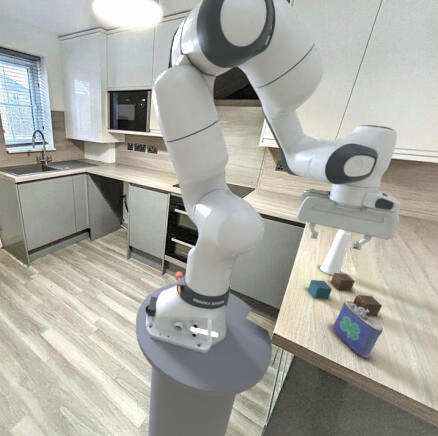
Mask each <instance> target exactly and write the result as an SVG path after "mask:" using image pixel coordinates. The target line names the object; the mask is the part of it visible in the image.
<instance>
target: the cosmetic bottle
mask: <svg viewBox="0 0 438 436" xmlns="http://www.w3.org/2000/svg"><path fill="white" fill-rule="evenodd" d="M351 236H352V232H349V231H345V230H340V229H338V231H337V233H336V235H335V238H334V240H333V242H332V244H331V246H330V248H329V251H328V254H327V255H326V257H325V259H324V261H323V263H322V264H321V266H320V270H321V271H322V272H323V273H325V274H327V275H330V276H333V275H334V273H342V271H341V270H342V265H343V261H344V259H345V255H346V252H347V249H348V246H349V244H350V240H351Z"/></svg>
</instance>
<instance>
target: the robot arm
mask: <svg viewBox="0 0 438 436" xmlns="http://www.w3.org/2000/svg"><path fill="white" fill-rule="evenodd" d="M168 58H169V60H168V66H167V69H166V70H164V71H163V72H162V73H161V74H160V75H159V76H158V78H156V80H155V82H154V83H153V87H152V92H151V93H152V101H153V106H154V112H155V115H156V120H157V123H158V127H159V131H160V134H161V136H162V139H163V142H164V145H165V147H166V151H167V153H168V155H169V158H170V160H171V161H170V162H171V164H172V167H173V169H174V171H175V174H176V178H177V181H178V186H179V190H180V195H181V199H182V203H183V206H184V209H185V212H186V215H187V217H188V218H189V220H190V221H192V223H193V224H194V225H195V226H196V229H197V233H198V238H197V241H196V244H195V246H193V247H192V248H191V249H190V250H189V251H188V253H187V261H186V268H185V269H186V270H185V274H183V272H182V271H176V272H175V280H176V283H177V286H174V287H172V288H169V289H167V290H164V291H162V292H161V293H160V295H159V297H151V298H150V302H149V304H148V305H147V306H146V308H145V310H146V313H147V316H146V329H147V332H148V334H149V336H150V337H152V338H155V339H158V340H161V341H164V342H168V343H171V344H175V345H178V346H181V347H185V348H188V349H191V350H195V351H198V352H201V353H207V352H208V351H209V350H210V349H211V347H212V346H213V345H215V344H217V343H219V342H220V341H222V340H223V339H224V337H225V336H226V333H227V326H226V318H225V312H226V306H227V303H228V301H229V296H230V293H231V286H230V283H231V278H232V273H233V270H234V266H235V263H236V262H237V261H236V260H237V259H238V258H239V256H240V255H244V254H247V253H249V252H251V251H252V250H253V249H255V248H256V247H257V246H258V245H259V243H260V242H261V240H262V239H263V236H264V234H265V229H266V227H265V221H264V219H263V217H262V216H261V214H260V213H259V212H258V211H257V210H256V208H255V207H254V206H253V205H252V204H251V203H250V202H249V201H248V200H245V199H244V198H242V197H240V196H238V195H237V194H235V193H233V192H232V191H231V190H230V188H229V186H228V183H227V180H226V179H227V177H226V167H227V165H228V162H229V159H230V158H229V157H230V155H229V152H228V147H227V144H226V140H225V136H224V132H223V128H222V125H221V121H220V117H219V114H218V110H217V107H216V104H215V102H214V100H215V99H214V86H215V80H216V78H217V77H218V76H220V75H222V74H224V73H226V72H228V71H230V70H231V69H233V68H237V67H238V68H239V69H240V70H241V71H242V72H243V73H244V74H245V75H246V78H247V79H248V81H249V83H250V85H251V86H252V88H253V90H254V92H255V93H256V95H257V97H258V99H259V100H260V103H261V111H262V114H263V116H264V119H265V121H266V124H267V126H268V128H269V131H270V132H271V134H272V137H273V139H274V141H275V143H276V145H277V147H278V150H279V153H280V160H281V165H282V168H283V170H284V172H286V173H287V174H288V175H291V176H295V177H300V178H307V179H310V180H313V181H317V182H322V183H324V184H329V185H331V189H330V190H324V189H316V188H309V189H306V190H304V191H303V192H302V193H301V196H300V202H301V205H300V207H299V209H298V212H297V215H296V218H297V220H298V221H299V222H304V223H309V226H308V227H309V229H310V233H311V234H310V239H314V240H317V239H318V236H319V231H316V226H323V227H326V228H332V229H335V230H345V231H349V232H350V233H354V234H358V235H362V238H361V239H359V241H358V240H354V241H353V244H352V246H351V247H352V249H353V250H357V251H360V250H361V249H362V246H363V245H365V244H367V243H368V242H370V241H371V240H372V237H373V238H377V239H382V240H386V241H388V240H391V239H393V238H394V237H395V236H396V233H397V230H398V227H399V223H400V216H399V213H398V212H397V211H399V210H400V208H401V202H400V201H399V200H398V199H397V198H396V197H394V196H393V195H390V194H387V193H385V192H382V191H380V187H381V184H382V182H381V181H382V178H383V175H384V173H385V172H386V171H387V170H388V168H389V165H390V164H391V161H392V158H393V156H394V153H395V148H396V145H397V137H398V136H397V135H398V133H397V131H396V130H394V129H393V128H392V127H387V126H383V125H381V126H380V125H373V124H363V125H362V124H361V125H358V126H356V127H354V130H353V131H352V132H350V133H349V134H347V135H345V136H343V137H340V138H337V139H336V140H335V139H321V138H315V137H312V136H309V135H308V134H306V132H304V129H303V127H302V124H301V122H300V119H299V117H298V114H297V109H298V108H300V107H301V106H302V105H303V104H304V103H306V102H307V101H308V100H309V99H310V98H311V97H312V96H313V95H314V94H315V92H316V91H317V89H318V87H319V86H320V83H321V81H322V79H323V75H324V66H323V61H322V57H321V55H320V52H319V50H318V47H317V45H316V43H315V41H314V39H313V37H312V35H311V33H310V32H309V29H308V27H307V26H306V24H305V22H304V20H302V18H301V16H300V15H299V14H298V13H297V11H296V10H295V9H294V7H293V6H292V5H291V3H290V2H288V0H200V1H199V2H198V3H197V4H195V5H194V6H193V7H192V8H191V9H190V10H189V11H188V12H187V14H186V16H185V17H184V18H183V20H182V22H181V23H180V25H178V27H177V28H176V30H175V32H174V33H173V36H172V38H171V42H170V46H169V57H168ZM150 327H151V328H150ZM199 346H200V347H199Z"/></svg>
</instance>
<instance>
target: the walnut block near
mask: <svg viewBox="0 0 438 436" xmlns="http://www.w3.org/2000/svg"><path fill="white" fill-rule="evenodd" d="M352 303H353V304H356V306H357V307H358V308H359V307H362V308H364V309H365V310H367V309H368V310H369V313H368V312H366V313H367V314H366V316H368V317H369V316H370V317H377V316H378V314H379V312H380V311H381V308H382V307H383V305H382V304H381V303H380V302H379V301H377V299H375V297H373V296H372V295H367V294H366V295H365V294H356V295H355V297H354V300H353V302H352Z"/></svg>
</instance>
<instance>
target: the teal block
mask: <svg viewBox="0 0 438 436" xmlns="http://www.w3.org/2000/svg"><path fill="white" fill-rule="evenodd" d="M332 289H333V288H332V287H331V285H329V284H328V283H327V282H326V281H325V280H318V279H311V280H310V283H309V286H308V288H307V291H308V292H309V293H310V294H311V296H312V297H313V298H314V299H319V300H321V299H322V300H329V298H330V295H331V292H332Z"/></svg>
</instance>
